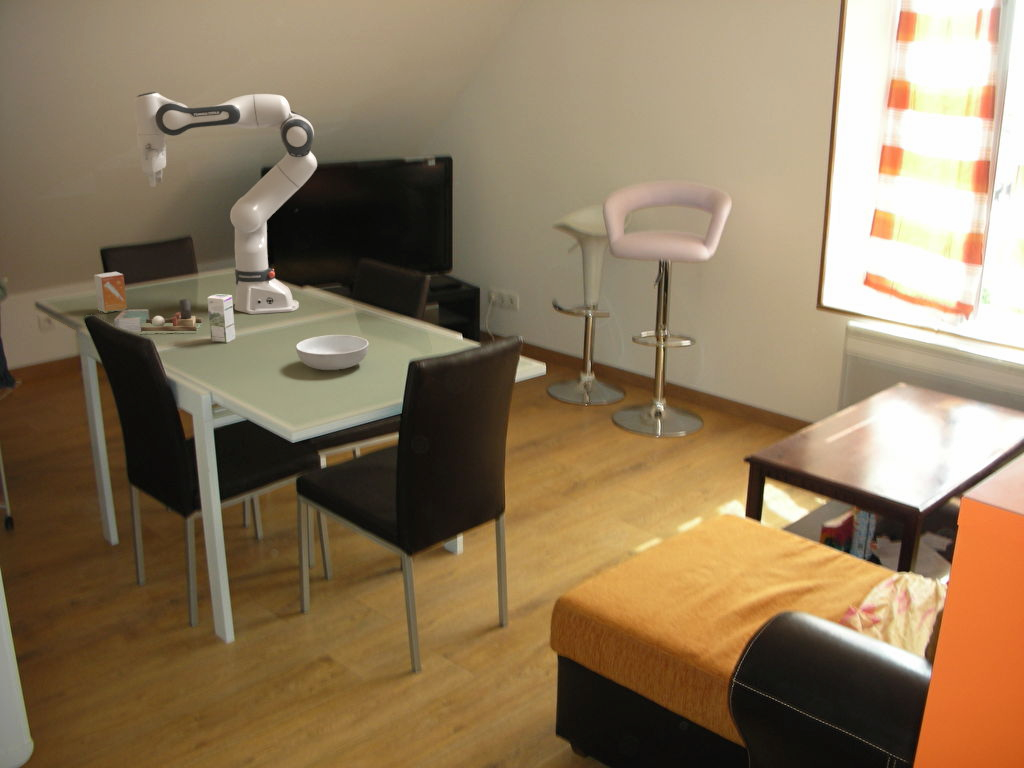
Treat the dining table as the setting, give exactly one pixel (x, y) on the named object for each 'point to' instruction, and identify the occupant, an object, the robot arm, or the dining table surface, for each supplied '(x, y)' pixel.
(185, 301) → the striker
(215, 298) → the syrup box
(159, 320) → the ball
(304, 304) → the dining table surface
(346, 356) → the serving bowl
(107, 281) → the small box
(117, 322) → the grey-white box
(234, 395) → the dining table surface
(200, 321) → the rails
